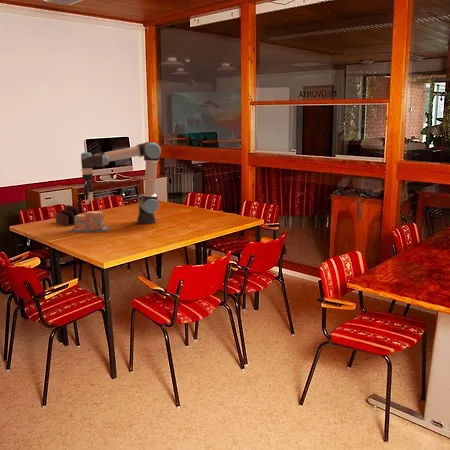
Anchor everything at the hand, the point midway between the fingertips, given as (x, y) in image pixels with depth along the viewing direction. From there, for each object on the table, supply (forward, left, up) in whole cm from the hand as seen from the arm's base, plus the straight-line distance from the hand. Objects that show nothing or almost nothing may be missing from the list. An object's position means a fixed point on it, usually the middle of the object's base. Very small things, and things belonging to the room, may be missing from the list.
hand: (89, 202), depth 367 cm
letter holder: (+24, -25, -22) cm, 41 cm away
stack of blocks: (+1, 0, -20) cm, 20 cm away
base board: (0, 0, -21) cm, 21 cm away
